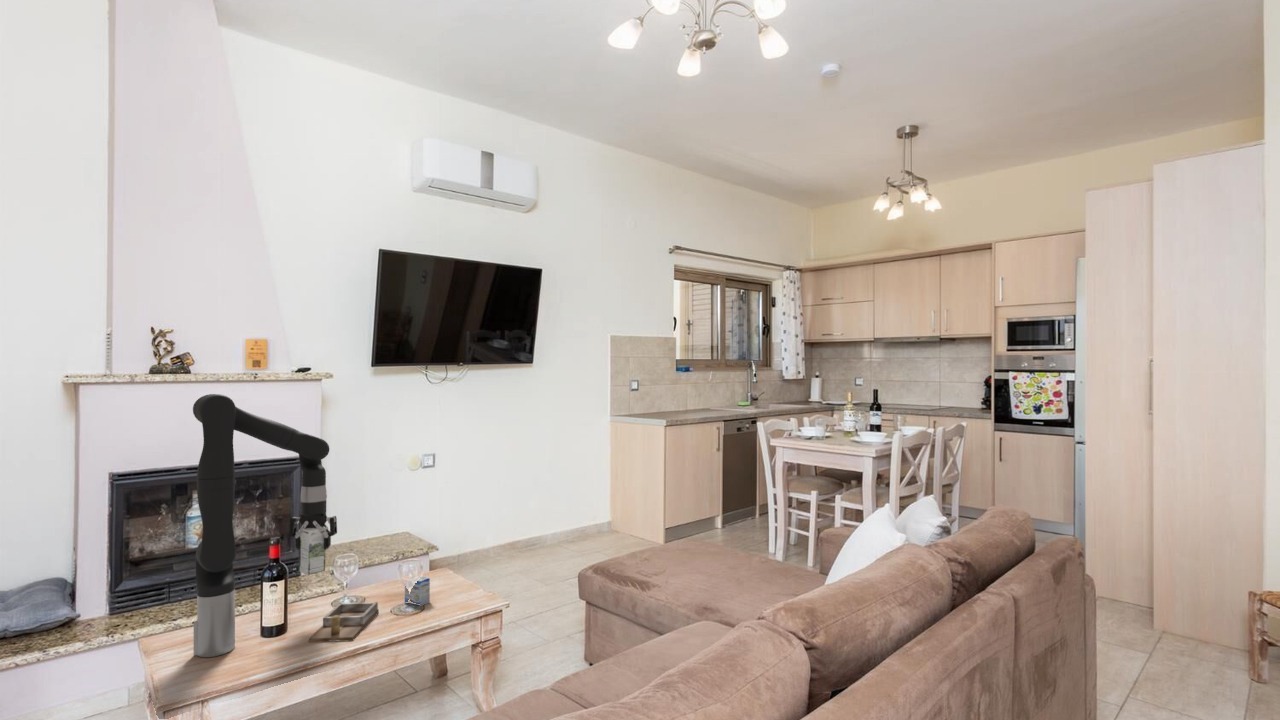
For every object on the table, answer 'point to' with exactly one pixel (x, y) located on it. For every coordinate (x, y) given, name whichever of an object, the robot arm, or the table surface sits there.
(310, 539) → the syrup box
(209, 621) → the robot arm
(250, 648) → the table surface
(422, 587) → the medicine box
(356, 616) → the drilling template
